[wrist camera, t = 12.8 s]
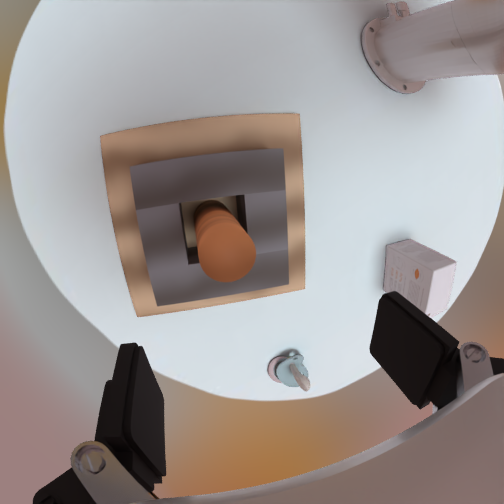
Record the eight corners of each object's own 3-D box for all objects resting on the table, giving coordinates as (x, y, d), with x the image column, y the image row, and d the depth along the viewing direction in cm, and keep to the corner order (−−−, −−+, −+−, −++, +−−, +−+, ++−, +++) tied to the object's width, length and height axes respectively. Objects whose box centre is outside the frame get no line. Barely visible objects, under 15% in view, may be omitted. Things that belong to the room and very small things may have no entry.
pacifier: (274, 384, 43) (306, 371, 44) (284, 412, 38) (319, 397, 38) (261, 358, 41) (298, 343, 41) (272, 387, 35) (312, 370, 35)
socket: (102, 136, 25) (84, 133, 20) (296, 114, 29) (319, 108, 24) (138, 313, 33) (132, 341, 28) (302, 285, 37) (321, 307, 32)
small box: (406, 281, 42) (447, 310, 33) (382, 290, 41) (423, 323, 32) (410, 237, 39) (458, 261, 30) (385, 244, 38) (434, 271, 29)
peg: (191, 202, 29) (195, 232, 18) (228, 197, 30) (253, 224, 19) (196, 237, 31) (203, 286, 20) (231, 232, 31) (257, 277, 20)
